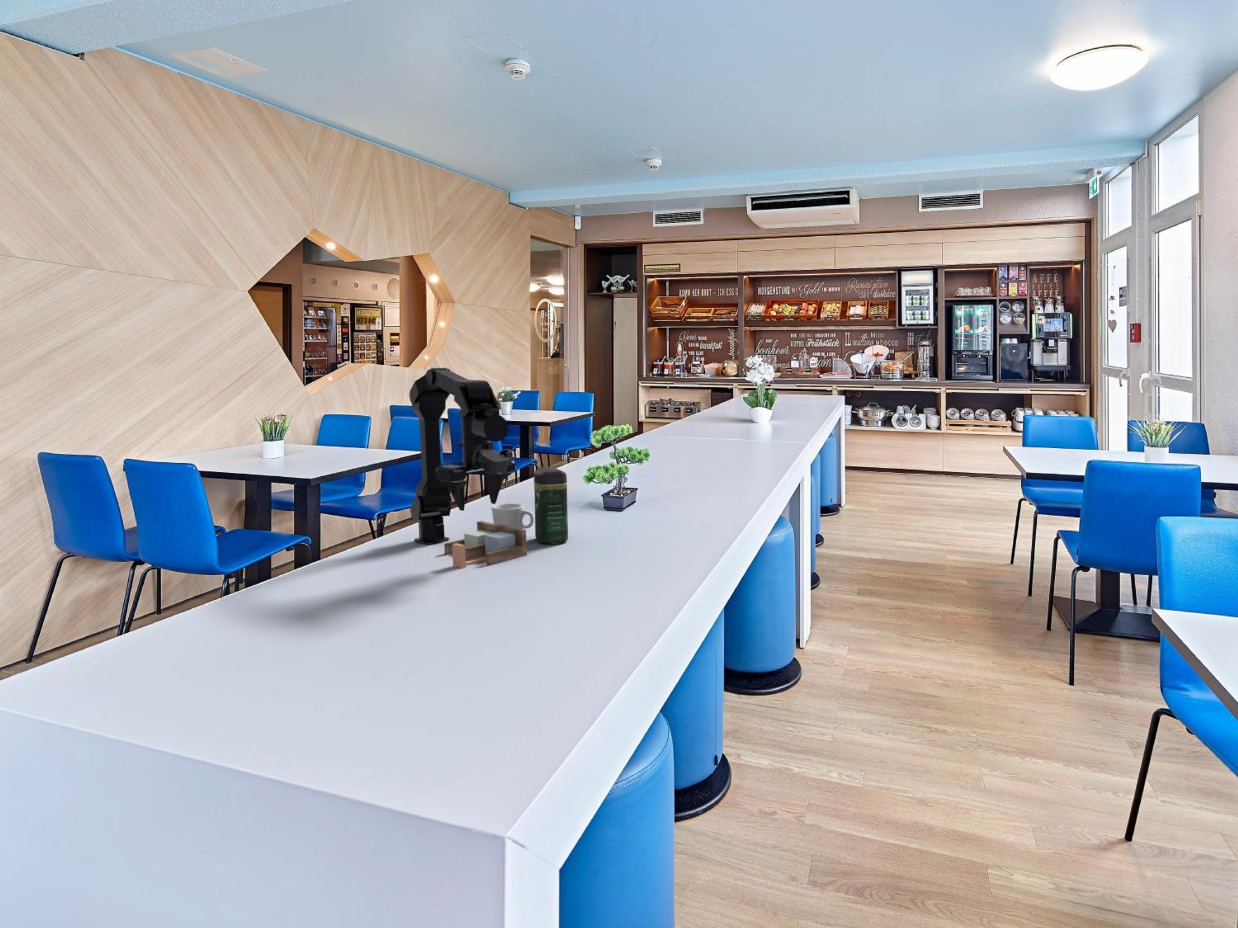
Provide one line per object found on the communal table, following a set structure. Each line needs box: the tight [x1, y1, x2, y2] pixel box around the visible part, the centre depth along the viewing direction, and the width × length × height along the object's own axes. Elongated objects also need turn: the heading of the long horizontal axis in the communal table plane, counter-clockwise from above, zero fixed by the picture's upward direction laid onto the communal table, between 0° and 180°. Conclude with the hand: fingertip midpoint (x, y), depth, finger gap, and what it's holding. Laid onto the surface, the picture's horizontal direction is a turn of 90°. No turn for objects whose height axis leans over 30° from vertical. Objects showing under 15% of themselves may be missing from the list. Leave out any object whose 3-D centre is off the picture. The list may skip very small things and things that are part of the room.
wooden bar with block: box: [452, 532, 516, 569], centre depth 183 cm, size 5×15×5 cm, turn 139°
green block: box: [463, 530, 494, 548], centre depth 191 cm, size 5×5×4 cm
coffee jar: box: [533, 466, 569, 545], centre depth 200 cm, size 10×8×19 cm
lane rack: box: [443, 520, 528, 566], centre depth 188 cm, size 16×11×6 cm
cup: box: [491, 502, 535, 530], centre depth 205 cm, size 11×8×8 cm
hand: (478, 507), depth 179 cm, fingers open, 9 cm apart
